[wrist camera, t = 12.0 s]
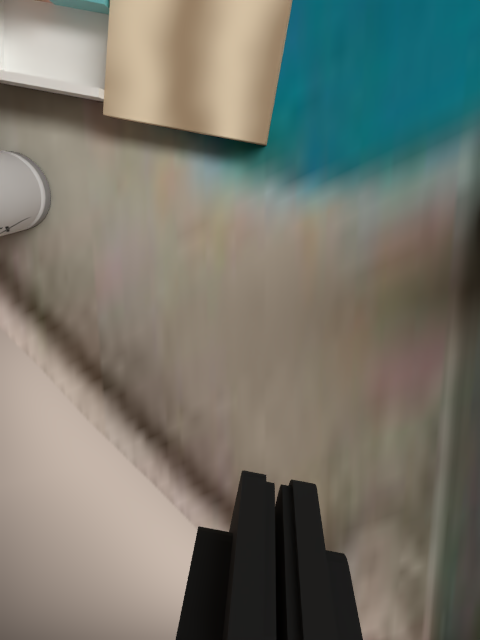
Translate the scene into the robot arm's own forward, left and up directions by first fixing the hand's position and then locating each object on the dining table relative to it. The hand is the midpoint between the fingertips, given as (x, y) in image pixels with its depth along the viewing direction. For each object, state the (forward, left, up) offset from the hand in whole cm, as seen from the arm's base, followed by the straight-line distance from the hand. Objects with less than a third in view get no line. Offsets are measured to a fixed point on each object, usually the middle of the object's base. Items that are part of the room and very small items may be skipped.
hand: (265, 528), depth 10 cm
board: (+8, -18, -29) cm, 35 cm away
